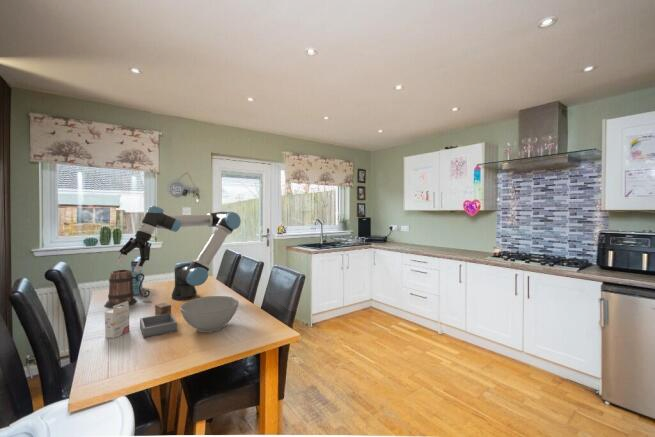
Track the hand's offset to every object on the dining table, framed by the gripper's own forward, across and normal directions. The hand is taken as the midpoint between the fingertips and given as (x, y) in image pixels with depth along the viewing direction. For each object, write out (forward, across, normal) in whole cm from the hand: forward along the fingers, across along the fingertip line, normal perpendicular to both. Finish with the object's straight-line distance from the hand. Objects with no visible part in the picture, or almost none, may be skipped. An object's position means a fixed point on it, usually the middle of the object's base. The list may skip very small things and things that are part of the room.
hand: (127, 269), depth 158 cm
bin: (+22, +33, +3) cm, 40 cm away
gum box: (+16, -36, +45) cm, 60 cm away
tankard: (+21, -18, +26) cm, 38 cm away
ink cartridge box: (+28, +21, -7) cm, 36 cm away
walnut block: (+19, +25, +12) cm, 34 cm away
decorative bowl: (+15, +55, +12) cm, 58 cm away
